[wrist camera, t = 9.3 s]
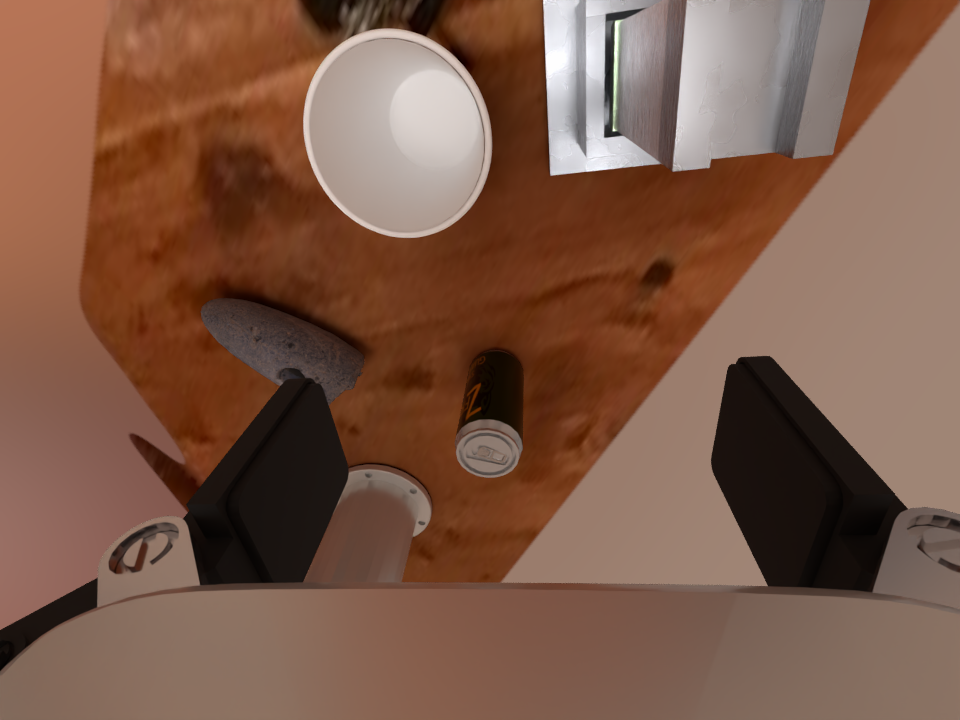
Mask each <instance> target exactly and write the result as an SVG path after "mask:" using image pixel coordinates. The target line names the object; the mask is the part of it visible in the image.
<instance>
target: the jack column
mask: <svg viewBox="0 0 960 720" xmlns="http://www.w3.org/2000/svg"><path fill="white" fill-rule="evenodd" d="M869 3H870V0H662V1H660V2H658V3H656V4H654V5H652V6H650V7H648V8H646V9H644V10H642V11H640V12H638V13H636V14H634V15H632V16H630V17H628V18H626V19H624V20H618V21H614V22H613V25H612V26H611V47H610V102H609V126H611V130H612V131H618V132H619V133H620V134H622V135H623V136H625V137H626V138H627V139H629V140H630V141H631V142H633V143H634V144H636V145H637V146H638V147H640V148H641V149H642V150H644V151H645V152H647V153H648V154H649V155H651V156H652V157H653V158H655V159H656V160H657V161H659V162H660V163H662V164H663V165H664V166H666V167H667V168H668V169H670V170H671V171H682V170H692V169H701V168H710V161H711V159H717V158H726V157H735V156H744V155H754V154H763V153H772V152H775V153H778V154H781V155H784V156H786V157H789V158H792V159H795V158H805V157H814V156H824V155H833V151H834V147H835V142H836V138H837V134H838V130H839V126H840V122H841V118H842V114H843V110H844V106H845V102H846V97H847V93H848V89H849V85H850V81H851V77H852V73H853V69H854V65H855V61H856V56H857V52H858V48H859V44H860V40H861V36H862V32H863V28H864V24H865V20H866V16H867V11H868V7H869Z"/></svg>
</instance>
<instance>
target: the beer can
mask: <svg viewBox="0 0 960 720" xmlns="http://www.w3.org/2000/svg"><path fill="white" fill-rule="evenodd" d="M523 386H524V375H523V368H522V366H521V364H520V362H519V361H518V360H517V359H516V358H515V357H514V356H513V355H511V354H509V353H507V352H505V351H501V350H489V351H487V352H484V353H482V354H480V355H479V356H478V357H477V358H475V359H474V360H473V362H472V363H471V365H470V368H469V373H468V378H467V383H466V388H465V393H464V398H463V404H462V409H461V414H460V419H459V424H458V429H457V434H456V439H455V447H456V455H457V460H458V461H459V463H460V464H461V466H462V467H463V468H465V469H466V470H467V471H468V472H470V473H472V474H474V475H477V476H481V477H486V478H489V477H499V476H502V475H505V474H507V473H509V472H510V471H512V470H513V469H514V468H515V466H516V465H517V463H518V460H519V457H520V455H521V452H522V449H523Z"/></svg>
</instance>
